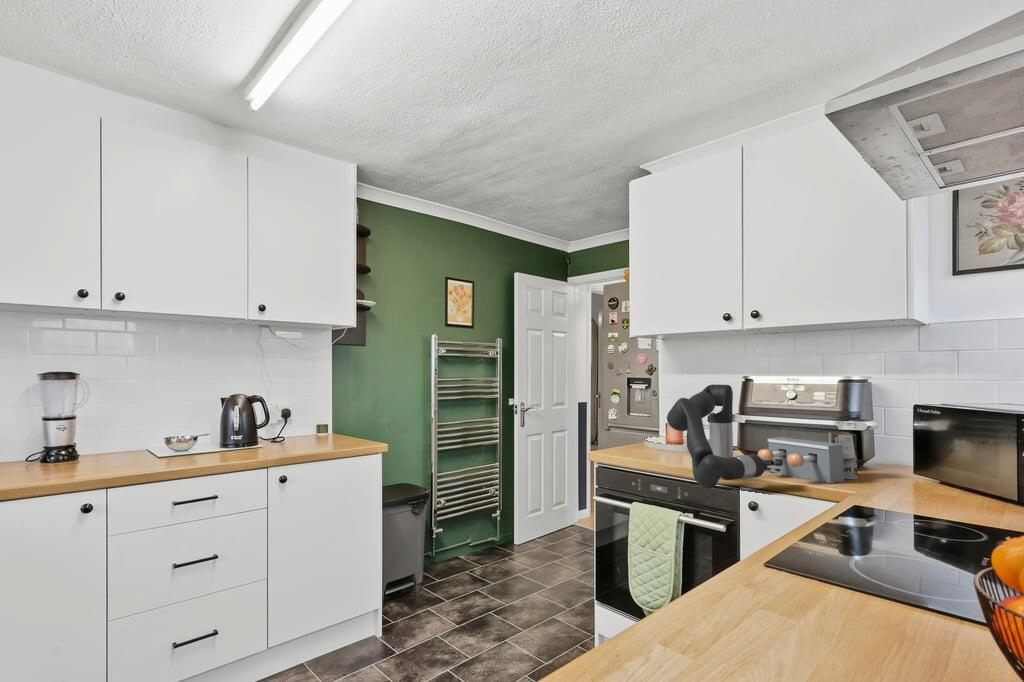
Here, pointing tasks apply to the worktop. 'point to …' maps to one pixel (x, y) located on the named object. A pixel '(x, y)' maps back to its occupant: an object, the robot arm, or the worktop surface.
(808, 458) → the knob
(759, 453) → the knob
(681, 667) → the worktop surface
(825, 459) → the control box
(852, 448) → the coffee box
